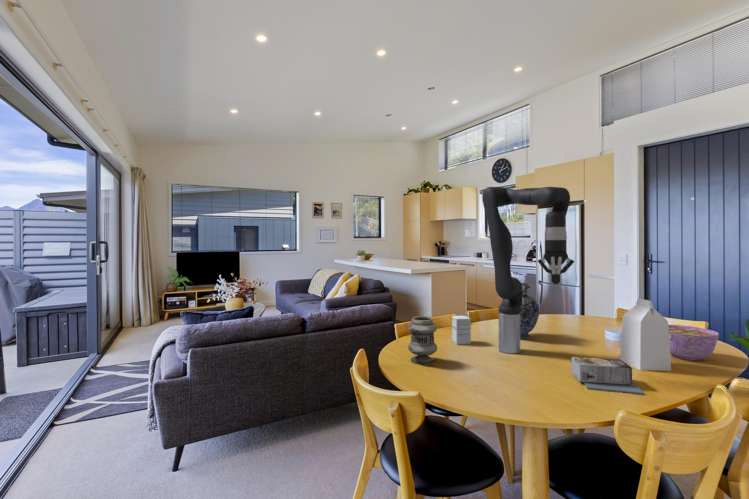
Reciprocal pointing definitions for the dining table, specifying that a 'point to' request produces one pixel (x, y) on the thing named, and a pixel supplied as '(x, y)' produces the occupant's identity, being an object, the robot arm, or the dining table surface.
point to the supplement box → (461, 330)
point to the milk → (645, 338)
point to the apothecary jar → (422, 339)
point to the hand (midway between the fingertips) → (555, 284)
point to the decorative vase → (528, 313)
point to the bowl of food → (691, 342)
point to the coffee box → (601, 370)
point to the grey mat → (614, 387)
